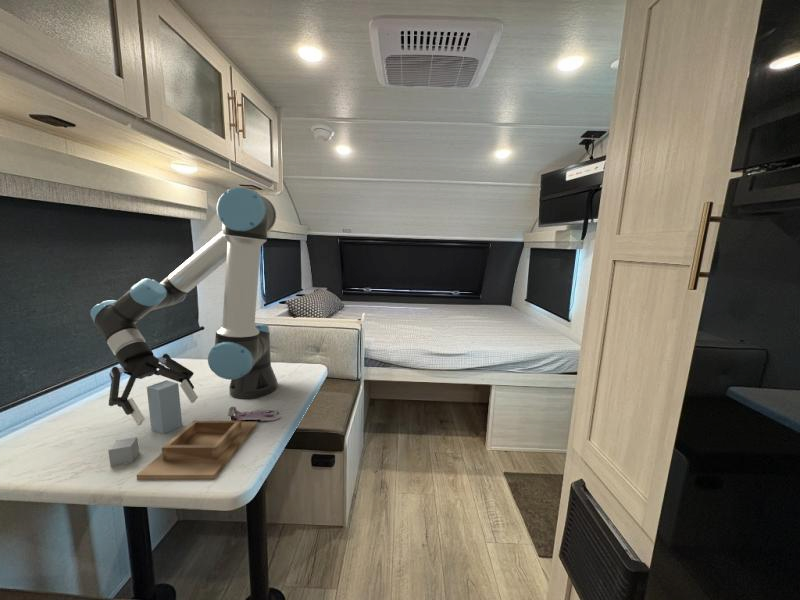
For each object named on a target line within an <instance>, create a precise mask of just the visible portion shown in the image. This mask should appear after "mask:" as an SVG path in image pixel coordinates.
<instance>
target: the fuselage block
mask: <svg viewBox="0 0 800 600" xmlns="http://www.w3.org/2000/svg"><path fill="white" fill-rule="evenodd" d="M179 387H180V385H179V383H178V382H176V381H175V382H174V381H172V380H168V379H167V380H163V381H160V382H157V383H154V384H152V385H148V386H146V393H147V402H148V403H147V404H148V411H149V413H148V414H149V421H150V429H151V431H154V432H156V433H159V434H162V435H164V434H166V433H168V432H170V431H172V430H173V431H174V429H177V428H179V427H181V426H183V420H182V409H181V407H182V406H181V398H180V388H179Z"/></svg>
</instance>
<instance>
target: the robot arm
mask: <svg viewBox="0 0 800 600" xmlns="http://www.w3.org/2000/svg"><path fill="white" fill-rule="evenodd" d="M216 213H217V216H218V219H219V220H220V222H221V225H222V226H221V231H220V232H219V233H217V234H216V235H215V236H214V237H213V238H212V239H211V240H209V241H208V242H207V243H205V245H203V246H202V247H201V248H200V249H198V250H197V251H196V252H194V253H193V254H192V255H191V256H190V257H189V258H188V259H186V260H185V261H184V262H183V263H182V264H180V265H179V266H178V267H177V268H176V269H175V270H173V271H172V272H170V274H169V275H168V276H166V277H165V278H164V279H162V280H161V281H160V282H159V281H156V279H151V278H142V279H141V280H140V281H138V282H137V283H135V284H133V285H132V286H131V288H130V289H128V290H127V291H126V292H125V293H124V294H122V295H121V296H120V297H119V298H118V299H117V300H116V299H111V300H110V299H109V300H104V301H102V302H101V303H97V304H96V305H94V306H93V307H92V308H91V310H90V317H91V319H92V321H93V324H94V327H96V328H97V330H98V332H99V333H100V334H101V336H102V337H103V339H104V340H105V342H106V344H107V345H108V348H110V350H111V352H112V353H113V355H114V356H115V359H116V360H117V362H118V364H119V365H120V367H117V366H113V367H112V368H111V370H110V372H109V374H108V375H109V377H110V380H111V382H110V390H109V399H108V406H109V407H114V406H116V405H117V407H118V408H122V410H123V411H124V414H126V415H127V416H129V415H130V416H131V417H132V419H133V420H134V421H135V423H136V426H137V427H139V426H141V425H142V424H143V423H144V421H145V419H146V418H145V416H144V415H143V413H142V412H141V410H140V408H139V407H138V405H137V404H136V402H135V400H134V399H133V397H131V398H129V396H130V394H131V391H132V389H133V387H134V384H135V382H136V380H137V379H138V380H142V379H145V378H146V377H153V375H154V376H160V377H164V378H167V379H170V380H171V381H175V382H177V383H178V382H179V387H180V389H182V392H184V394H185V396H186V397H187V399H188V400H189V401H190V403H191V404H193V403H195V402H196V400H197V399H198V398H199V396H198V395H197V393H196V391H194V388H195V387H194V385H193V382H191V379H192V377H193V376H194V371H192V370H191V369H189V368H187V367H186V366H184V365H182V364H181V363H179V362H177V361H176V360H174V359H172V357H171V356H170V355H169V354H168V353H164V354H162V356H160V357H156V356H155V355H154V352H153V350H152V349H151V347H150V346H149V344H148V343H147V342H146V339H145V337H144V336H143V335H142V333H141V332H140V331H139V329H138V326H136V324H137V323H138V322H139V321H140V320H141V319H143V318H144V317H145V316H146V315H148V314H149V313H150V312H151V311H156V310H158V309H162V308H166V307H170V306H175V305H177V304H179V303H182V302H183V301H184V300H185V299H186V297H187V294H188V293H189V292H191V291H192V290H193V289H195V287H197V286H198V285H199V284H200V283H201V282H203V281H204V280H205V279H206V278H208V277H209V276H210V275H211V274H212V273H213V272H214V271H216V270H217V269H219V268H220V267H221V266H222V265H223V264H224V263H225V276H224V277H225V279H224V291H223V292H224V293H223V294H224V295H223V308H222V321H221V325H220V327H218V328H216V330H215V337H214V338H215V340H214V346H213V347H212V348H211V349H210V351H209V353H208V356H207V364H208V367H209V369H210V370H211V371H212V372H213V373H214V374H215V375H216V376H217V377H219V378H221V379H224V380H228V381H229V380H230V383H229V387H228V388H229V395H230V396H231V397H233V398H236V399H254V398H260V397H264V396H267V395H269V394H271V393H273V392H274V391H276V390H277V388H278V379H277V377H276V374H275V372H274V370H273V367H272V364H271V362H272V360H271V359H272V358H271V340H270V334H271V333H270V327H269V325H268V324H266V323H256V310H257V297H258V284H259V271H260V257H261V247H262V246H263V244H265V243H266V242H267V241H268V232H269V231H271V230H272V228H273V227H274V226H275V223H276V219H277V213H276V208H275V206H274V205H273V203H272V202H271V201H270V200H269V199H268V198H267V197H265V196H263V195H260V193H258V192H257V191H255V190H254V189H250V188H246V187H241V186H239V187H238V186H237V187H233V188H229V189H227V190H226V191H225V192H223V193H222V194H221V195H220V196H219V198H218V201H217V203H216ZM123 373H124V374H125V375H128V376H129V378H128V381H127V382H126V386H125V388H124V389H123V391H122V394H121V396H119V393H120V384H121V383H120V382H121V376H122V374H123Z"/></svg>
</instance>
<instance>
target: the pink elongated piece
mask: <svg viewBox="0 0 800 600" xmlns="http://www.w3.org/2000/svg"><path fill="white" fill-rule="evenodd" d="M279 414H280V412H279V410H278V409H263V408H261V409H255V410H251V411H240V410H238V409H237V408H236V406H231V407H229V408H228V412H227V416H228V417H229V418H230V421H235V420H236V421H246V420H248V421H250V420H252V421H253V420H254V421H258V420H260V421H261V422H265V421H266V422H270V421H271V422H276V421H277V420H278V419H280V418H281V417H280V416H278V415H279Z"/></svg>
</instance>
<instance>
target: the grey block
mask: <svg viewBox="0 0 800 600" xmlns="http://www.w3.org/2000/svg"><path fill="white" fill-rule="evenodd" d="M139 454H140V449H139V441H138V437H137V436H135V437H130V438H125V439H124V438H122V439H117V440H115V441H114V443H112V445H111V446H110V447H109V449H108V457H109V465H110V467H114V466H121V465H125V464H130V463H133V462H134V461H135V460H136V458H137V456H138V455H139Z"/></svg>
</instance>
